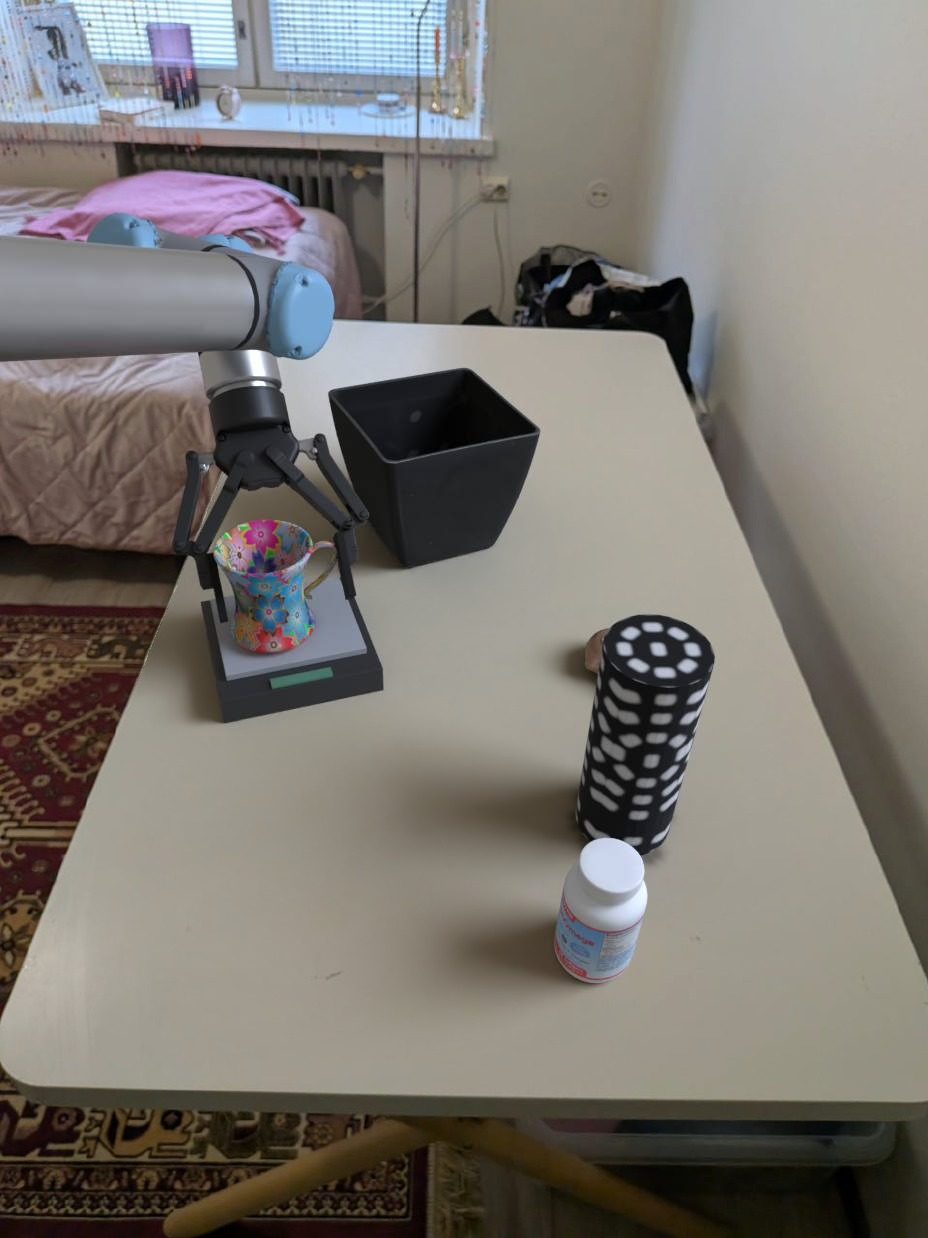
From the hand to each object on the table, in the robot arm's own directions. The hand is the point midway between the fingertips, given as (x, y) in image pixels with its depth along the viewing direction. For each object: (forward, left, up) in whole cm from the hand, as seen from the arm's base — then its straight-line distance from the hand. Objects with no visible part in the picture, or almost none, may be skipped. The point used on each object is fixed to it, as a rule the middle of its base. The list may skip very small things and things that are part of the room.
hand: (288, 609), depth 91 cm
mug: (0, +3, -5) cm, 5 cm away
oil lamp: (+32, -10, -8) cm, 35 cm away
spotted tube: (+24, -27, -8) cm, 37 cm away
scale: (0, +3, -8) cm, 9 cm away
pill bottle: (+16, -38, -8) cm, 42 cm away
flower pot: (+21, +21, -8) cm, 30 cm away
